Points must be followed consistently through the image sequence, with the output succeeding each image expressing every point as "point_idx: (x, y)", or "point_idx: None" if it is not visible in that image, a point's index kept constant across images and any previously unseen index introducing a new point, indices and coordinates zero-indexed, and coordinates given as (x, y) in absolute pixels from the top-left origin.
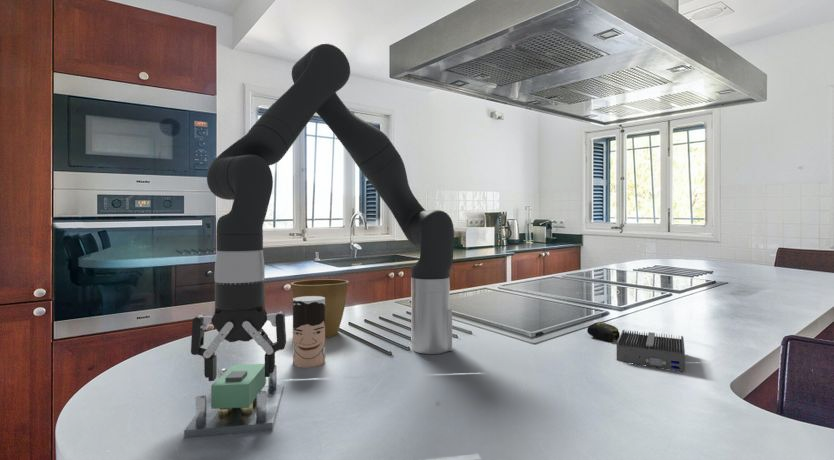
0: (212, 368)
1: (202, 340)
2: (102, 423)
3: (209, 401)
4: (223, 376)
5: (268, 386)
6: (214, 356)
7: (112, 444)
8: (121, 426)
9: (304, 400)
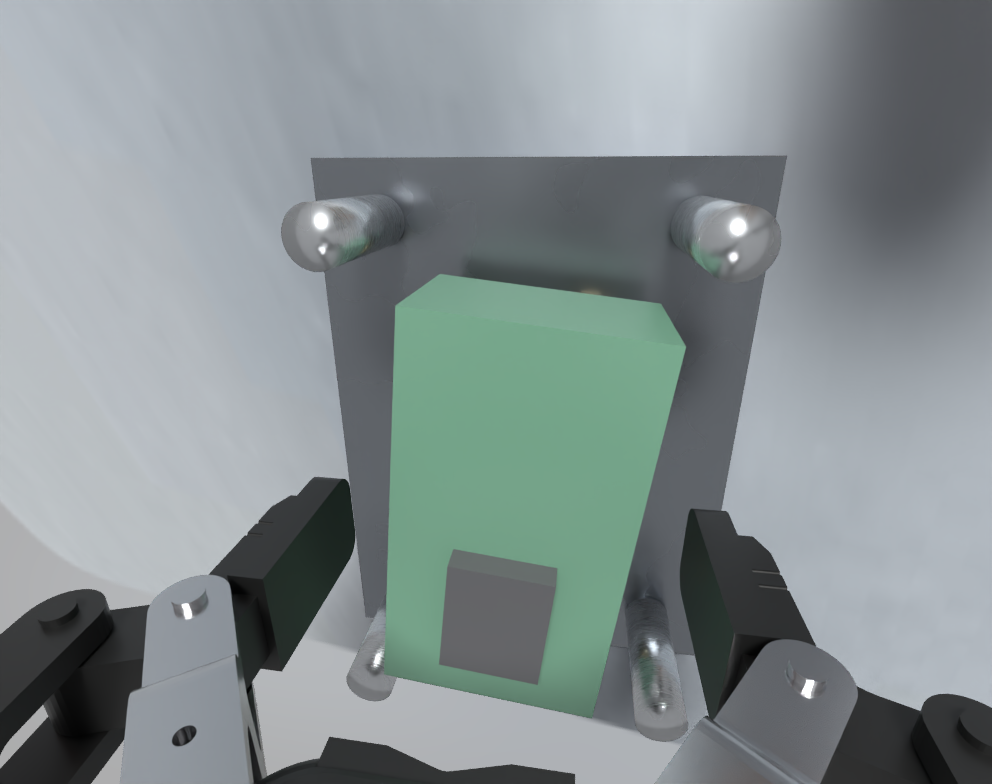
0: (315, 609)
1: (32, 710)
2: (7, 387)
3: (356, 359)
4: (404, 555)
5: (673, 237)
6: (269, 626)
7: (165, 560)
8: (97, 434)
9: (883, 356)
